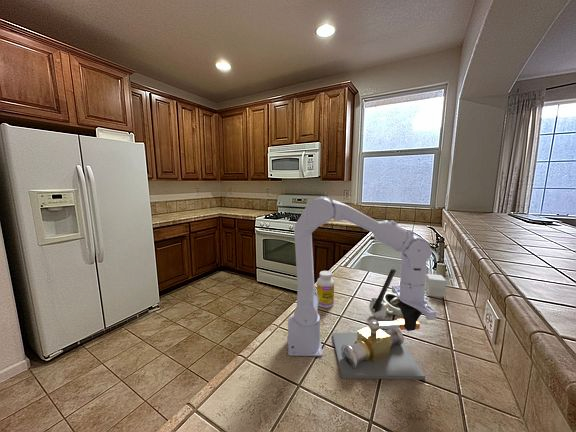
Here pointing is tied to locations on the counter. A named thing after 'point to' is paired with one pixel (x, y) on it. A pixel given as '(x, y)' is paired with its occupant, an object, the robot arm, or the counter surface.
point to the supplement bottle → (325, 289)
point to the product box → (435, 285)
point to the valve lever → (389, 324)
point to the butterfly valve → (385, 301)
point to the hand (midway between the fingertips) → (409, 329)
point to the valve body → (371, 345)
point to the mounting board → (378, 362)
